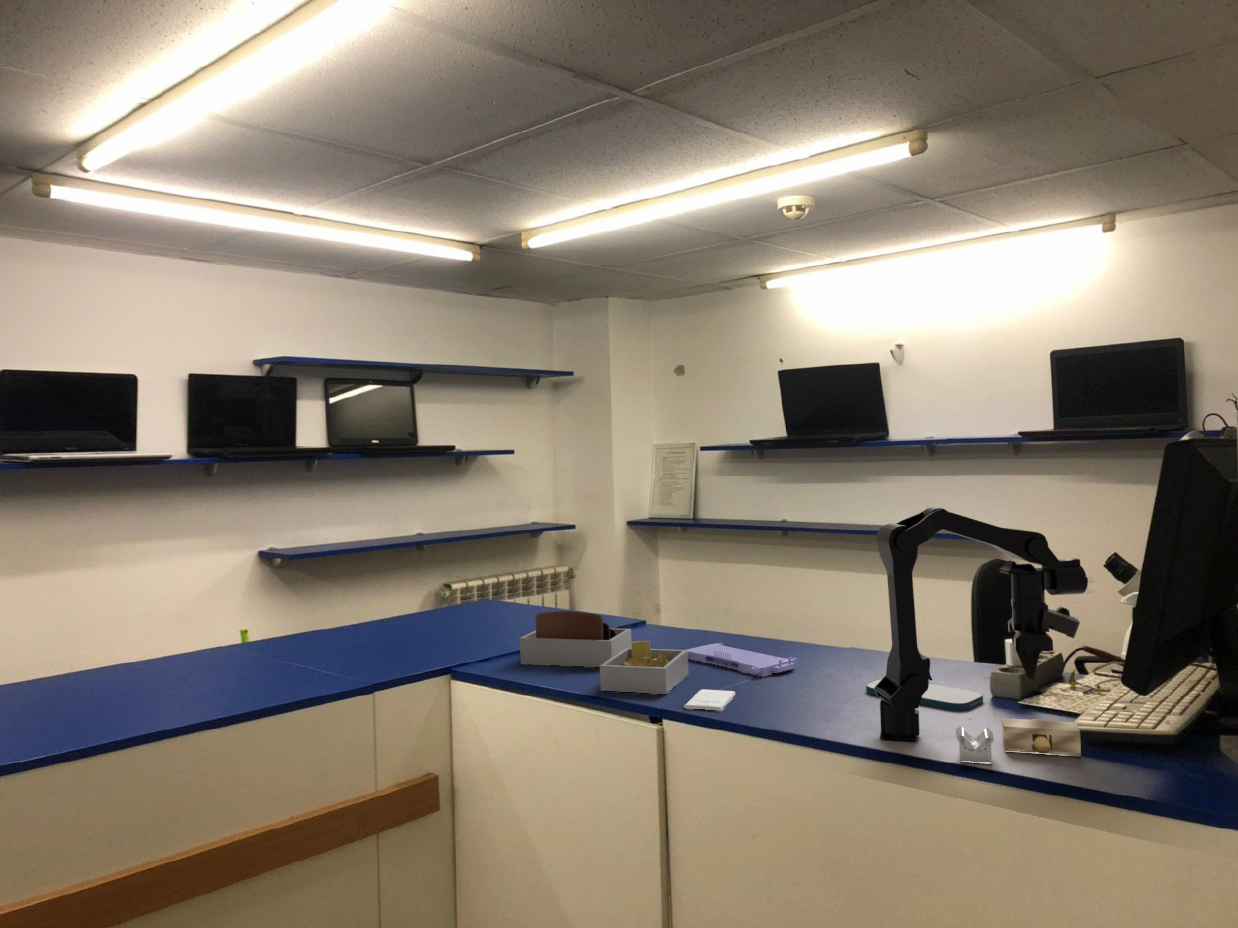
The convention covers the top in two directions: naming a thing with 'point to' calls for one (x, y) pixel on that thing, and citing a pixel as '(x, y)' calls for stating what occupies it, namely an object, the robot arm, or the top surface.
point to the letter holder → (572, 626)
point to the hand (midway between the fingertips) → (1030, 678)
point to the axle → (1041, 742)
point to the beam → (1060, 734)
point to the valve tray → (644, 672)
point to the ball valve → (644, 656)
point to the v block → (975, 745)
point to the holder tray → (572, 650)
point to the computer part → (741, 659)
